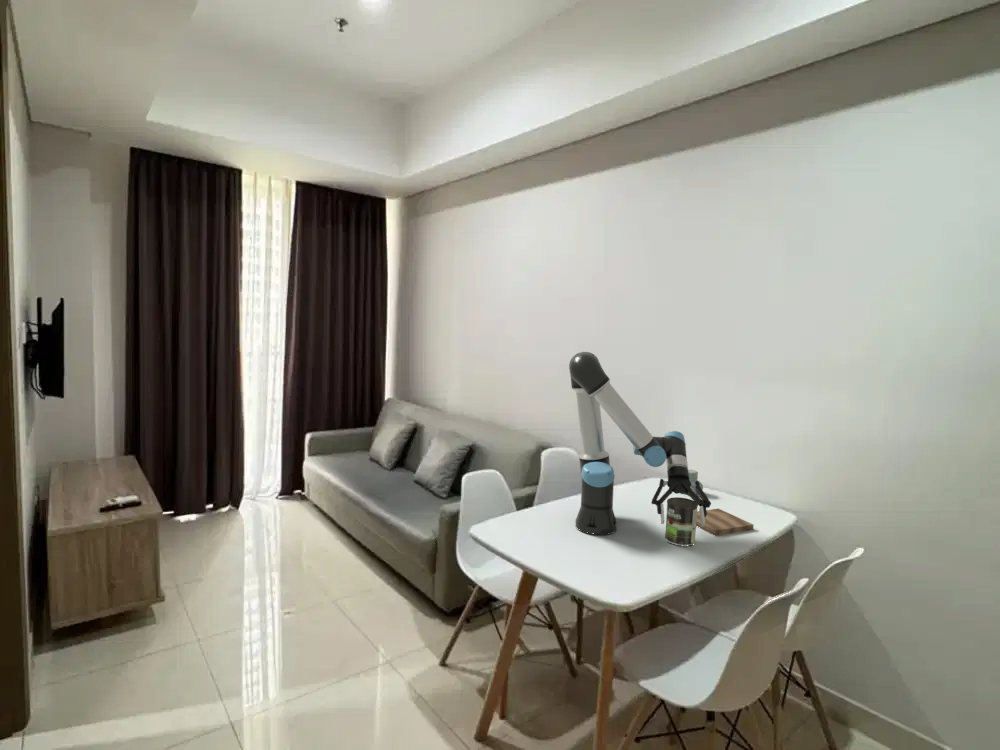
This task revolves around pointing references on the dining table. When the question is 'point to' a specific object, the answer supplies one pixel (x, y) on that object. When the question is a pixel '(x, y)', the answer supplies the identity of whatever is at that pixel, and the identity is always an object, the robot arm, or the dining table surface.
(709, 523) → the walnut board
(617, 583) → the dining table surface
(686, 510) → the coffee can
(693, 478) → the air freshener
